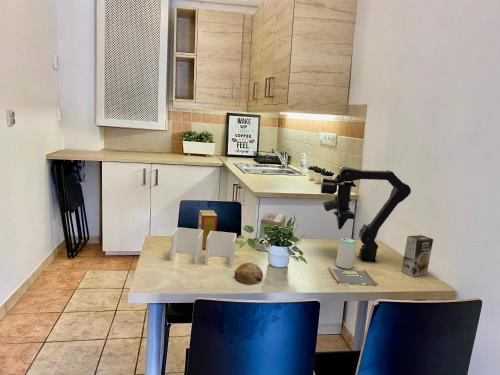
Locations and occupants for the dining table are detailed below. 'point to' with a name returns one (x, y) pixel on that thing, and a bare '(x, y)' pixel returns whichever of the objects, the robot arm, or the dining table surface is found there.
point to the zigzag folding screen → (192, 243)
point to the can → (345, 253)
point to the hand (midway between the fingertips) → (339, 229)
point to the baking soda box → (207, 224)
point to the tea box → (269, 225)
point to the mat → (353, 277)
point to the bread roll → (249, 273)
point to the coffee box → (417, 255)
